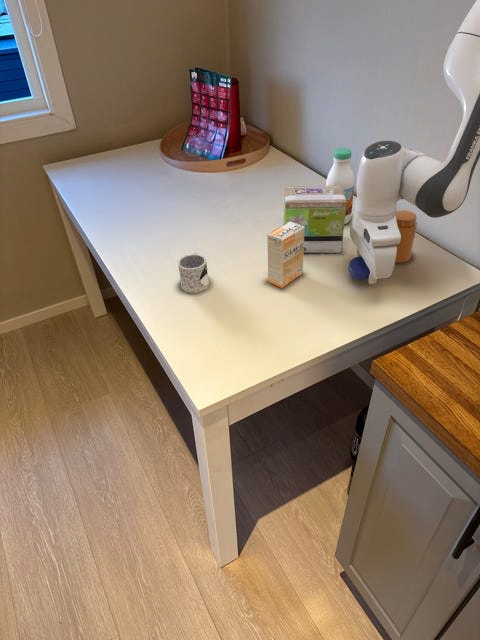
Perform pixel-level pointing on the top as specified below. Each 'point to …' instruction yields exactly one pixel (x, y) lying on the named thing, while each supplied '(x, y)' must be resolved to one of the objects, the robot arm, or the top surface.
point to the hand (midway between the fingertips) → (366, 272)
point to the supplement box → (285, 254)
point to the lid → (358, 268)
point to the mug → (193, 273)
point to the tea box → (317, 215)
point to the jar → (405, 234)
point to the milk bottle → (343, 178)
